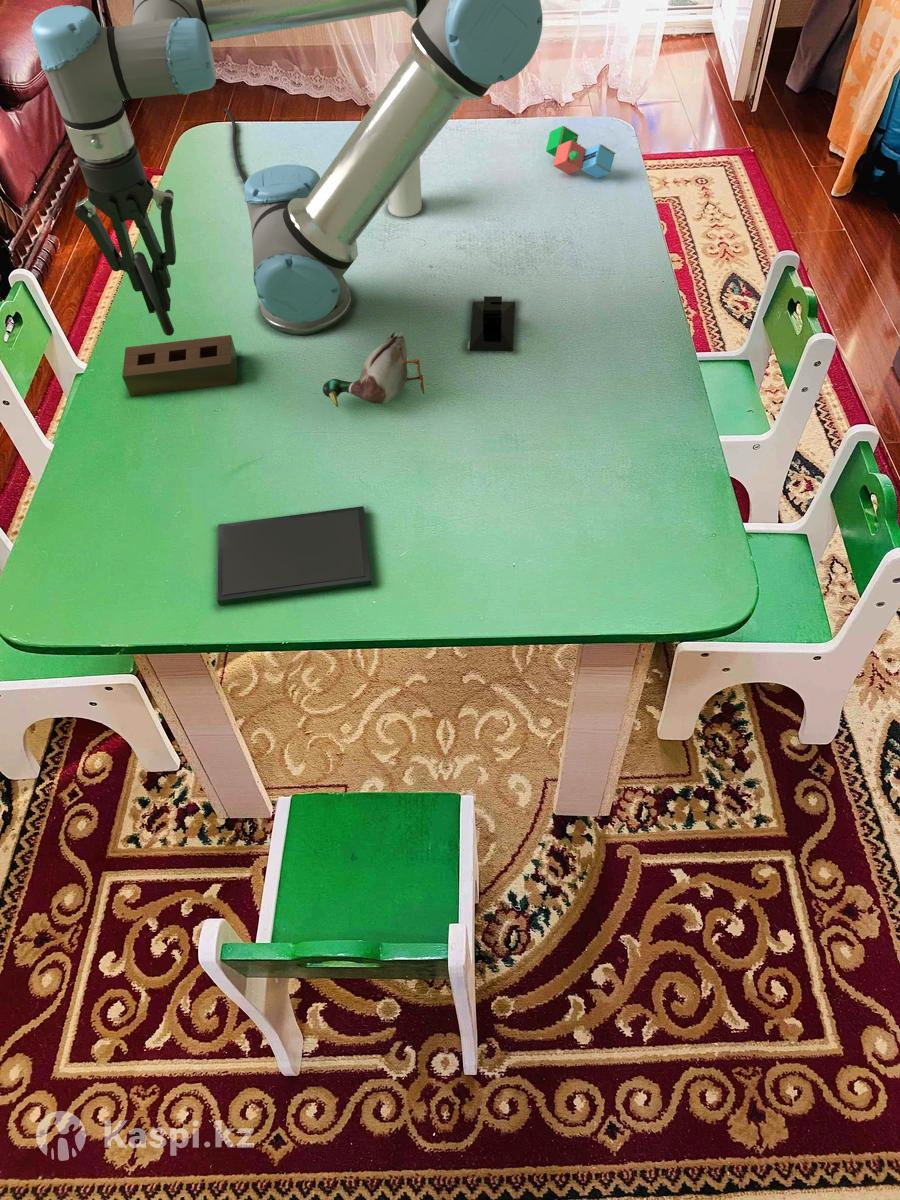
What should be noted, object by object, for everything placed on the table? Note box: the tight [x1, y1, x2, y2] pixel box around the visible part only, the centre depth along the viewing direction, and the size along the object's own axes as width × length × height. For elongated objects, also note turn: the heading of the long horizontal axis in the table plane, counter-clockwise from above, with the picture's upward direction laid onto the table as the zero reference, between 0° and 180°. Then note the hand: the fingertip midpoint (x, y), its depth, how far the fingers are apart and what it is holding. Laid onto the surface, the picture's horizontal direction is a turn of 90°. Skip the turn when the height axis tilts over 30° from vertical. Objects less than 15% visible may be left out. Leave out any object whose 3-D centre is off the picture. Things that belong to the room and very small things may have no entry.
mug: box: [386, 157, 423, 218], centre depth 166 cm, size 10×7×12 cm, turn 109°
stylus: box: [133, 251, 175, 337], centre depth 133 cm, size 2×2×16 cm
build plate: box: [467, 295, 516, 353], centre depth 148 cm, size 12×7×5 cm, turn 176°
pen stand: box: [121, 334, 238, 397], centre depth 144 cm, size 7×17×4 cm, turn 98°
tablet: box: [216, 505, 373, 606], centre depth 123 cm, size 13×20×1 cm, turn 98°
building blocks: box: [545, 125, 617, 179], centre depth 174 cm, size 8×8×12 cm
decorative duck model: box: [322, 331, 425, 408], centre depth 140 cm, size 15×8×15 cm
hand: (159, 306), depth 135 cm, fingers closed on stylus, 1 cm apart
